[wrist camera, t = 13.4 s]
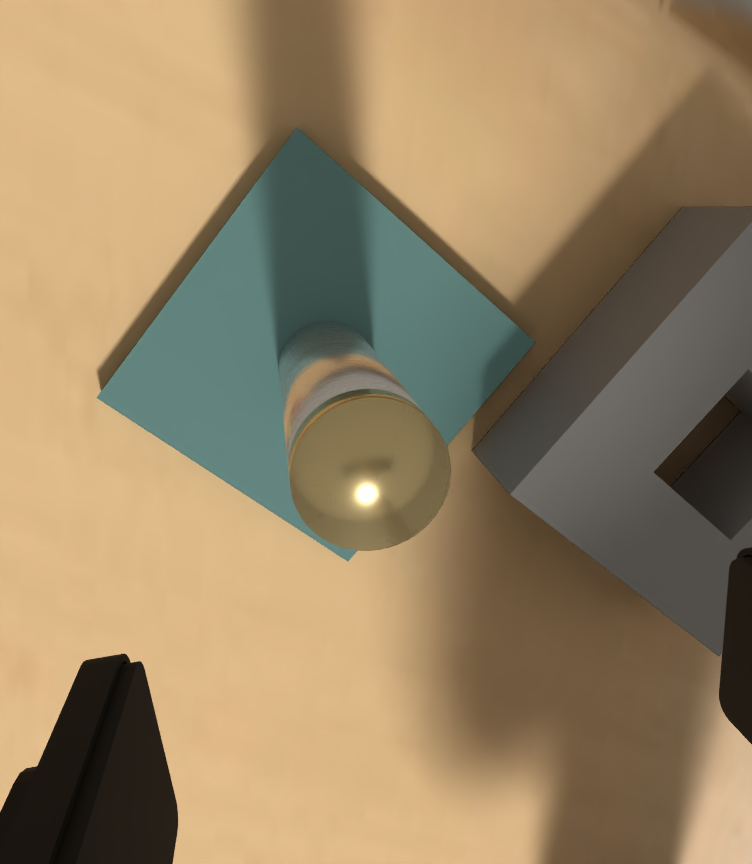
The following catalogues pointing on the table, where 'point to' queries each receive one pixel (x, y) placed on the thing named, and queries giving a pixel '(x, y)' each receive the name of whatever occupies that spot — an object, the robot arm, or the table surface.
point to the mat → (298, 307)
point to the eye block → (649, 422)
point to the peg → (357, 442)
